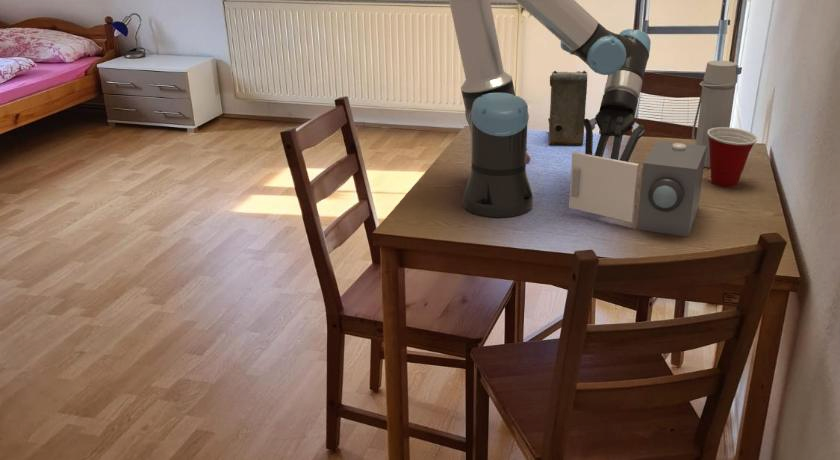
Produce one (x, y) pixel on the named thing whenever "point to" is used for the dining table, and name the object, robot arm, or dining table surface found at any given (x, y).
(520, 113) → the robot arm
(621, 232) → the dining table surface
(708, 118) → the water bottle
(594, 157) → the side door
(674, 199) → the camera housing
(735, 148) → the plastic cup
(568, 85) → the vintage camera
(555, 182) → the dining table surface
